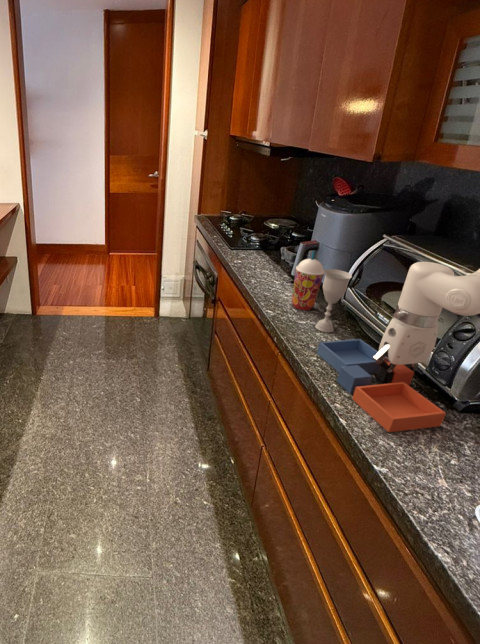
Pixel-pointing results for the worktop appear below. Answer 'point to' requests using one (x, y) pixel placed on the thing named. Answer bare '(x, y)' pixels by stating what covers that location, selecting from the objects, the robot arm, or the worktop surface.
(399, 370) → the terracotta block
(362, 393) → the terracotta bin
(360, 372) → the blue cubic block piece
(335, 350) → the blue bin
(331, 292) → the chalice
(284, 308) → the worktop surface
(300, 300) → the smoothie
